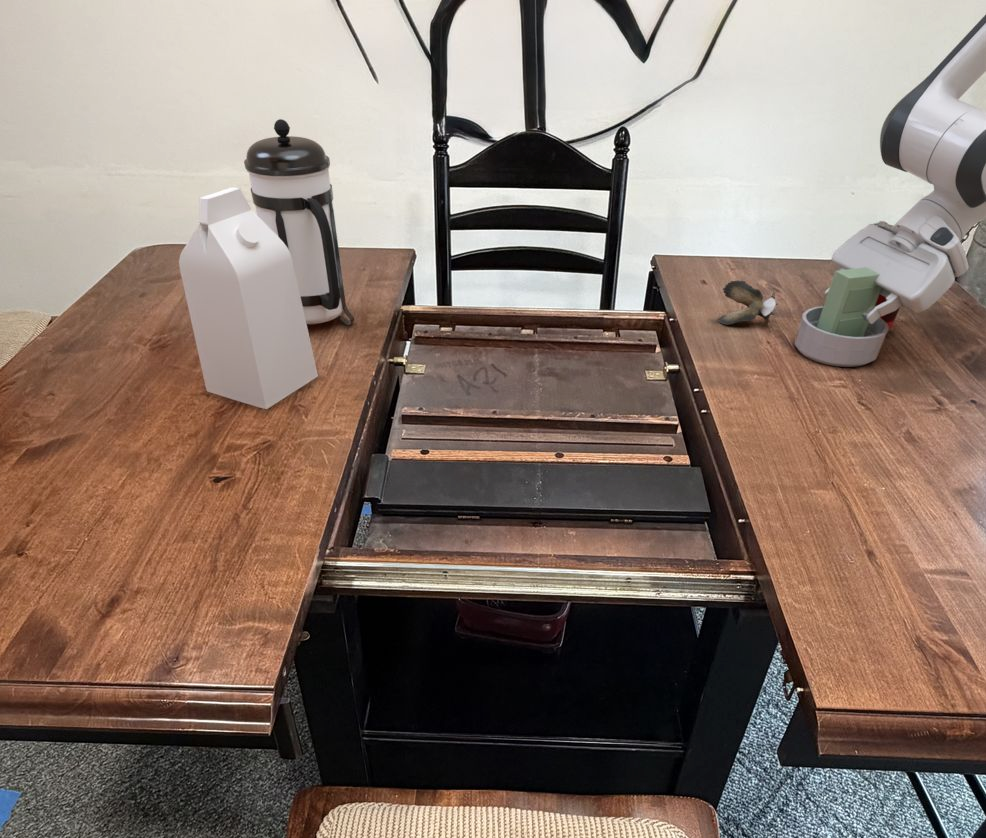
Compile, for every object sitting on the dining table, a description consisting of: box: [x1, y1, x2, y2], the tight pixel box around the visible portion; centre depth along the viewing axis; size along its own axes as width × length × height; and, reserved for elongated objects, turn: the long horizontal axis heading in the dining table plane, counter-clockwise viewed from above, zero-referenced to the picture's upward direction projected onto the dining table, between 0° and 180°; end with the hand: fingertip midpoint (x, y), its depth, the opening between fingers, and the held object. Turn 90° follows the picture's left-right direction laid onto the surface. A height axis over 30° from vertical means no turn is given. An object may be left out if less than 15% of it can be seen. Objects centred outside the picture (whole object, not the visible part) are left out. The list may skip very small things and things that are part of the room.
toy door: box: [817, 267, 882, 337], centre depth 115 cm, size 4×7×12 cm, turn 108°
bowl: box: [794, 305, 890, 368], centre depth 117 cm, size 13×13×5 cm
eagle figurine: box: [716, 279, 779, 325], centre depth 125 cm, size 8×7×9 cm
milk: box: [178, 186, 319, 410], centre depth 99 cm, size 12×12×26 cm
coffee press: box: [243, 118, 355, 327], centre depth 115 cm, size 17×16×30 cm
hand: (846, 308), depth 114 cm, fingers open, 8 cm apart
